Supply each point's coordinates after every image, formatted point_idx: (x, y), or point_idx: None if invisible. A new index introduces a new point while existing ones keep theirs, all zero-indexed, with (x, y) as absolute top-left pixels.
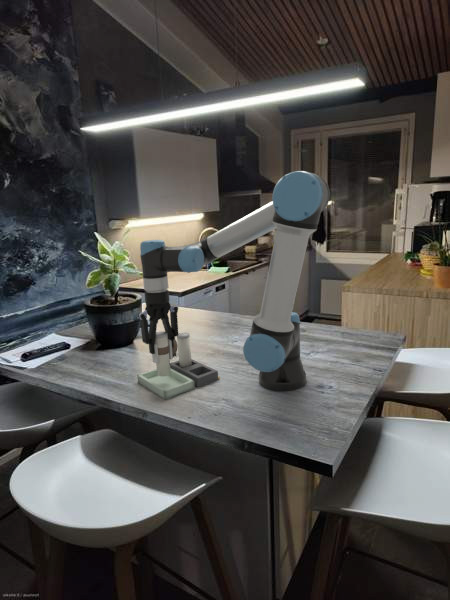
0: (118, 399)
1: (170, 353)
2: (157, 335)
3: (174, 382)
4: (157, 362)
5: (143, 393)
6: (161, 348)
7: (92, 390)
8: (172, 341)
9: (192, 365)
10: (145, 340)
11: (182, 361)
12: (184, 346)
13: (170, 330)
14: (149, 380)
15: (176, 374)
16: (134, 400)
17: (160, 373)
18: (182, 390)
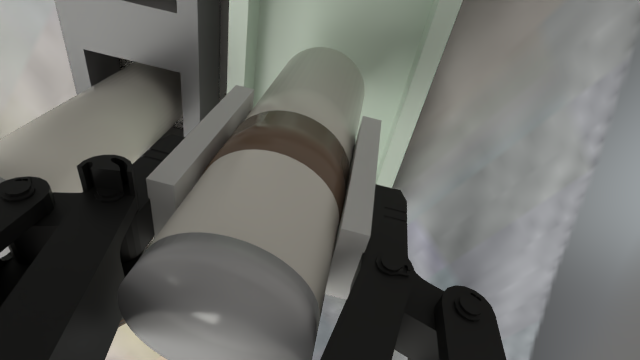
0: (579, 147)
1: (233, 112)
2: (295, 323)
3: (292, 28)
4: (375, 124)
5: (469, 89)
6: (314, 166)
7: (531, 285)
8: (137, 174)
9: (117, 53)
10: (496, 351)
11: (149, 109)
12: (61, 141)
13: (47, 280)
14: (400, 126)
15: (247, 58)
16: (565, 67)
17: (360, 86)
18: None
